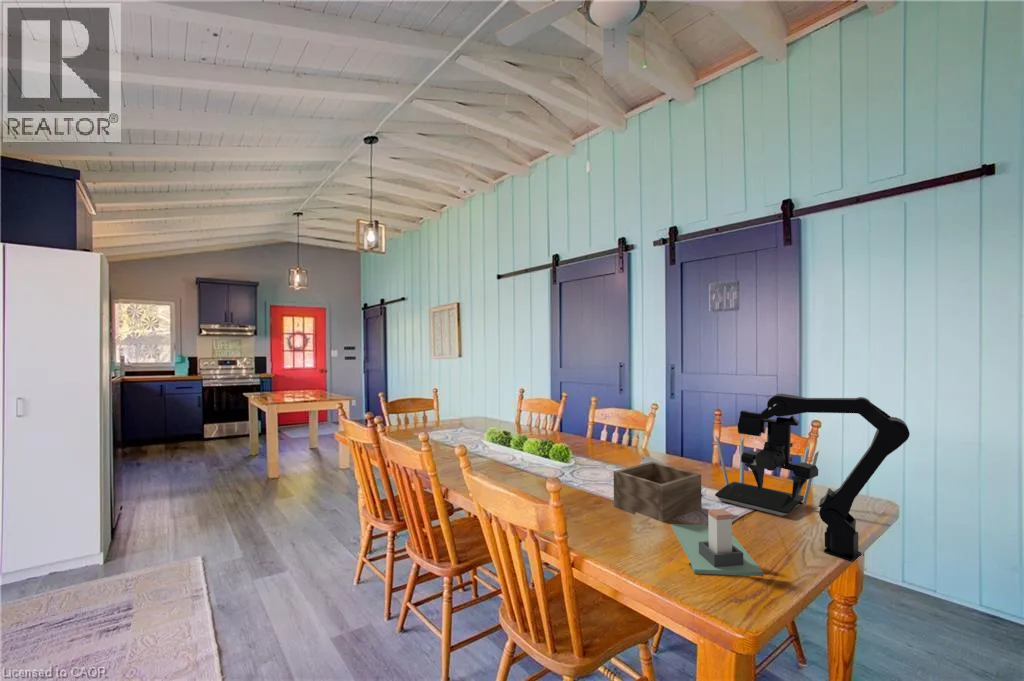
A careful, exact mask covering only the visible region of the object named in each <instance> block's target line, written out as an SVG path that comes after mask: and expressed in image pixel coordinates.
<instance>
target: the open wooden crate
mask: <svg viewBox="0 0 1024 681" xmlns="http://www.w3.org/2000/svg"><path fill="white" fill-rule="evenodd" d="M667 465H668V464H667ZM667 465H663V464H659V463H655V462H649V463H645V464H641V465H640V464H638V465H634V466H630V467H626V468H622V469H621V468H620V469H617V470H614V471H613V473H612V474H613V507H614V508H617V509H619V510H622V511H624V512H627V513H630V514H632V515H636V513H637V514H640V515H643V516H645V517H648V518H649V519H654V520H655V521H656V520H657V521H658V522H661V523H664V522H668V521H669V520H673V519H675V518H678V517H680V516H683V515H686V514H688V513H691V512H694V511H697V510H703V506H702V505H703V504H702V502H703V501H702V500H703V499H702V498H703V496H702V474H701V473H697V472H693V471H689V470H686V469H682V468H677V467H674V466H671V465H669V466H667Z"/></svg>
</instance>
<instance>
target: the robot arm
mask: <svg viewBox="0 0 1024 681" xmlns="http://www.w3.org/2000/svg"><path fill="white" fill-rule="evenodd" d="M766 404H767V405H766V408H765V409H763V410H761V411H760V412H754V411H749V410H741V411H740V412H739V418H738V422H737V433H738V434H739V435H746V436H747V435H748V436H753V437H761V436H762V434H763V435H764V434H766V432H767V435H766V437H767V438H766V441H765V442H764V444H763V449H761V450H760V451H756V450H752V449H751V450H748V451H744V452H743V453H742V455H741V462H743V463H744V466H745V467H748V468H749V469H750V470H751V472H752V475H753V476H754V479H755V482H756V486H758V488H759V489H760V490H761V489H762V487H763V485H764V476H765V470H767V471H771V472H772V471H775V470H776V469H777V468H780V469H782V470H783V469H784V470H788V471H792V473H793V475H792V476H791V478H792V493H791V494H792V499H796V497H797V495H798V493H799V492H800V490H801V488H802V489H803V486H804V485H805V483H807V481H808V479H811V478H812V479H813V478H816V477H818V476H819V468H818V467H817V464H816V465H812V463H808V462H807V463H803V461H802V462H799V463H797V464H796V463H792V461H793V457H791V448H792V447H793V445H794V444H793V442H791V435H792V434H791V433H792V432H791V430H792V426H796V427H797V426H799V425H800V422H799V420H798V419H796V417H795V415H799V414H806V413H818V414H821V413H822V414H825V413H826V414H831V413H832V414H858V415H859V416H861V417H862V418H863V419H865V420H866V421H867V422H868V423H869V424H871V426H872V427H873V428H874V429H876V431H875V434H874V436H873V438H872V441H871V443H870V445H869V447H868V448H867V450H866V451H865V452H864V454H863V455H862V456H861V457H860V460H858V462H857V463H856V465H855V466H854V467H853V469H852V470H851V471H850V473H848V476H846V478H845V480H844V481H843V483H842V484H841V485H840V486H839V487H837V489H836V490H832V489H831V488H830V487H829V488H828V489H827V491H826V494H825V495H824V496H823V497H821V498H820V500H819V504H818V507H819V512H818V514H819V518H820V520H821V521H822V522H823V523H825V524H826V525H827V526H826V531H825V532H824V549H823V553H826V554H828V555H829V554H830V555H832V556H835V557H838V558H841V559H844V560H847V561H853V560H855V559H856V558H858V557H859V556H861V555H862V552H861V551H859V531H856V528H857V527H856V526H857V520H856V519H855V517H854V516H853V515H851V514H850V511H851V509H852V505H853V503H854V500H856V497H857V496H858V495H859V494H860V492H861V491H862V490H863V488H864V487H865V485H867V483H868V481H869V480H870V479H871V478H872V476H873V475H874V474H875V472H876V471H877V470H878V468H879V467H880V466H881V464H882V463H883V461H885V459H886V458H887V457H888V456H889V455H891V454H892V453H894V452H895V451H896V450H898V449H899V448H900V447H901V446H902V445H903V444H904V443H906V442H907V441H908V440H909V437H910V436H911V435H910V430H909V428H908V427H909V426H908V424H907V423H906V422H905V421H904V420H903V419H901V418H898V417H896V416H895V417H894V416H891V415H889V414H888V413H886V412H885V411H884V410H882V409H881V408H879V407H878V406H877V405H875V404H874V403H873V402H871V400H870V399H869V398H867V397H865V396H864V397H863V396H861V397H860V396H858V397H804V396H800V395H794V394H787V393H776V394H775V395H773V396H772V397H770V398H769V399H768V400H767V403H766ZM787 416H790V417H787ZM773 417H776V419H775V418H773ZM766 430H767V431H766Z"/></svg>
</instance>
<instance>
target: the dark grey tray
mask: <svg viewBox="0 0 1024 681" xmlns="http://www.w3.org/2000/svg"><path fill="white" fill-rule="evenodd" d="M699 554H700V555H701V556H703V557H704V558H705V559H706V560H707V561H708V562H709V563H710V564H711V565H713V566H714V567H724V566H736V565H743V552H741V551H740V550H739V549H737V548H736V547H735V546H733V545H732V552H727V553H715V552H713V551H712V550H711V549H710V548H709V541H703V542H699Z"/></svg>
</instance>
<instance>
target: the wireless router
mask: <svg viewBox="0 0 1024 681" xmlns="http://www.w3.org/2000/svg"><path fill="white" fill-rule="evenodd" d="M715 440H716V445H717V449H718V454H719V459H720V463H721V469H722V473H723V477H724V482H725V485H724V486H723V487H722V488H721V489H720V490H718V491H717V492H716V493H715V494H714V495H715V497H716V498H718V500H719V501H720V502H723V503H729V504H732V505H736V506H741V507H744V508H749V509H752V510H757V511H760V512H764V513H768V514H773V515H777V516H780V517H785V516H787V515H788V514H790V513H791V512H792V511H793V510H794V509H796V508H797V507H798V506H799V505H801V506H802V507H806V506H807V502H808V498H809V495H810V489H811V487H812V481H813V478H811V479H808V480H807V481H806V487H805V491H804V495H802V490H803V487H802V488H801V490H800V492H799V493H798V495H797V497H796V499H792V493H790V492H786V491H781V490H776V489H771V488H768V487H763V486H762V489H761V490H760V489H759V488H758V485H754V484H753V485H752V484H749V483H745V463H743V462H741V455H742V453H743V452H745V451H744V450H745V448H744V444H745V443H744V435H741V436H740V439H739V443H740V444H739V481H732V482H730V483H729V476H728V474H727V470H726V465H725V461H724V460H725V458H724V454H723V452H722V451H723V450H722V445H721V442H720V438H719V437H718V436H717V435H715ZM810 448H811V445H808V444H807V446H806V447H805V450H804V455H803V458H802V459H803V460H802V462H803V463H808V460H809V454H810V450H811V449H810ZM819 453H820V451H819V450H818V451H817V452H815V454H814V455H813V458H812V462H811V464H812V465H816V466H817V462H818V457H819Z"/></svg>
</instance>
